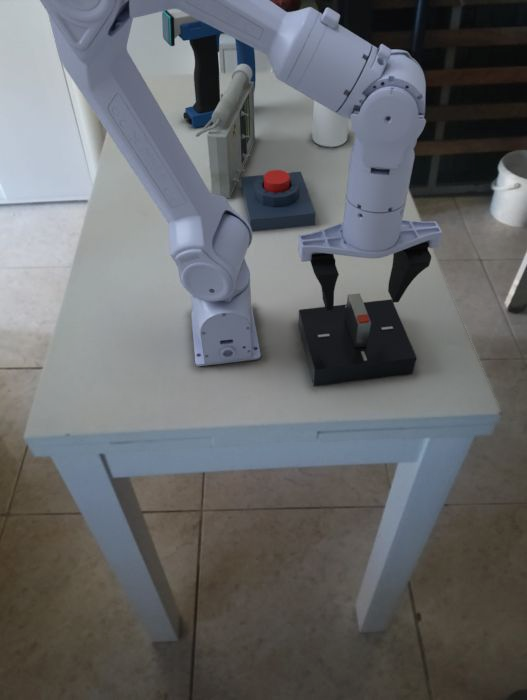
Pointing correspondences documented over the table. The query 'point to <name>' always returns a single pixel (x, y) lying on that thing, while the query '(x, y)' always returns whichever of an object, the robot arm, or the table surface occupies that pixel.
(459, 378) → the table surface
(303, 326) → the control panel
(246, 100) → the geiger counter
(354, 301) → the dial
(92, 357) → the table surface
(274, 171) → the power button
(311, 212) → the button box
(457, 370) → the table surface
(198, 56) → the handheld scanner
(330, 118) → the can
